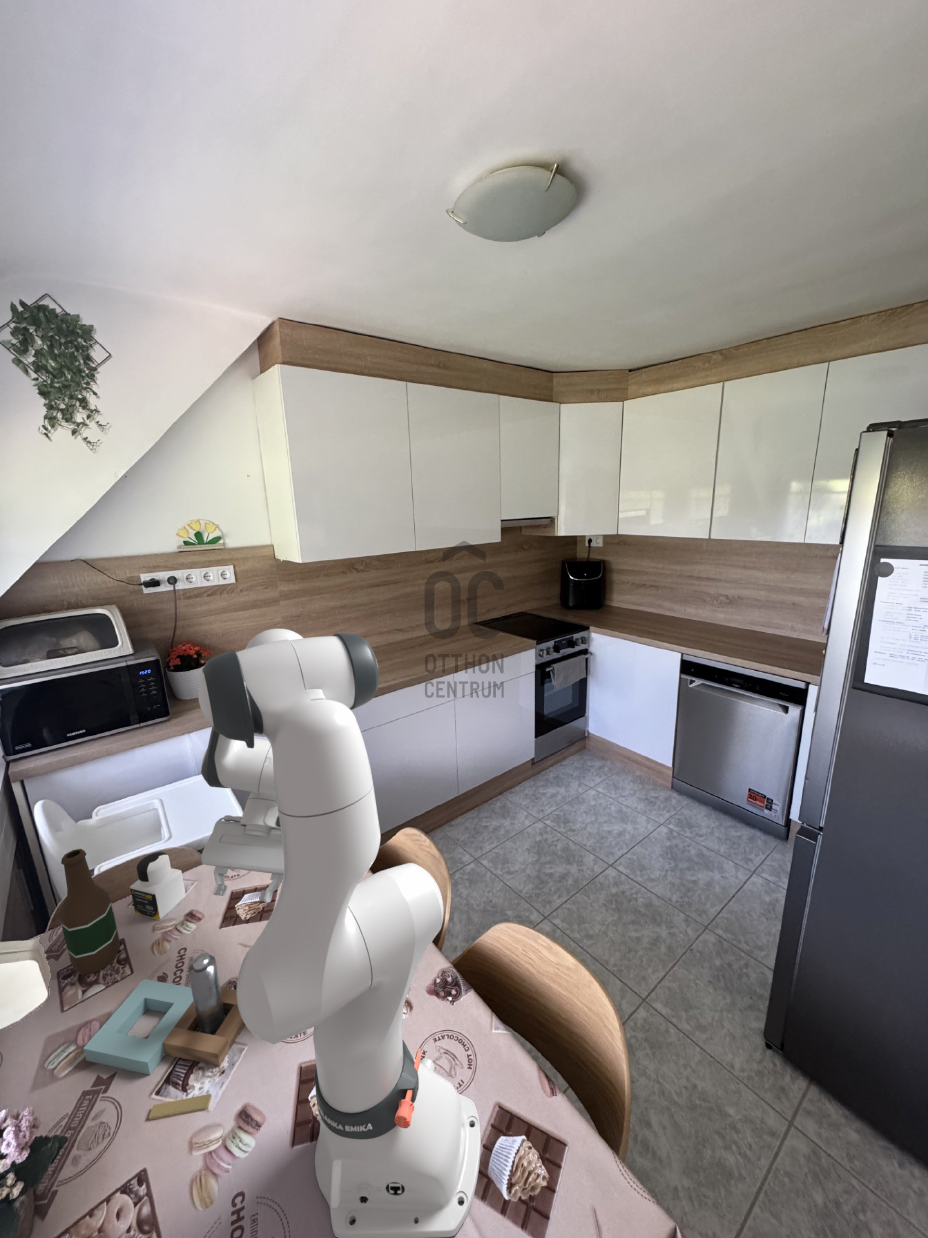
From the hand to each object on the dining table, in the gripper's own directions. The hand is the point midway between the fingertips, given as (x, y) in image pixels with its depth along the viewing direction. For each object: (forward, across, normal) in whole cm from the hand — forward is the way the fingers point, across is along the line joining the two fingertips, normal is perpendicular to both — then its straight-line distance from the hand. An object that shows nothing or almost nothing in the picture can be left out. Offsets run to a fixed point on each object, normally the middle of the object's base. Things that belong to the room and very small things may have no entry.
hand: (241, 898), depth 91 cm
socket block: (+19, 0, +4) cm, 19 cm away
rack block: (+20, -11, +2) cm, 23 cm away
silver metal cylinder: (+19, 0, +4) cm, 19 cm away
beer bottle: (+14, -32, +10) cm, 36 cm away
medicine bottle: (+4, -30, +19) cm, 36 cm away
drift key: (+27, +3, -4) cm, 28 cm away
